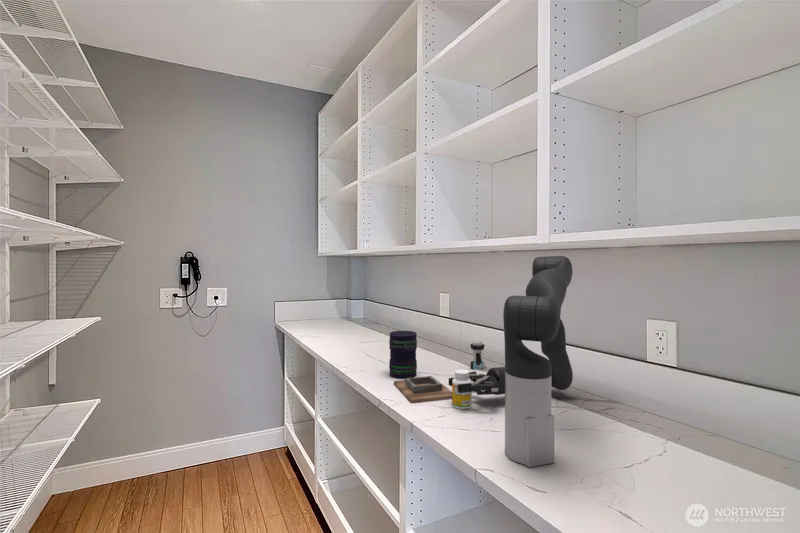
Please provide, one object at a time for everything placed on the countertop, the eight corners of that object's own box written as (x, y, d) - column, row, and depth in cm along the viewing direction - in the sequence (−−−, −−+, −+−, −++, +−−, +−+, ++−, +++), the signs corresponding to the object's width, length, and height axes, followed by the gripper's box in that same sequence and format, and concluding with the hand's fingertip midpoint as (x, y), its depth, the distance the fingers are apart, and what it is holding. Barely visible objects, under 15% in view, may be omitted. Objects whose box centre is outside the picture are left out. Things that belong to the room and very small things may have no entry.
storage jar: (383, 375, 138) (383, 333, 138) (401, 369, 145) (401, 329, 145) (404, 381, 131) (405, 337, 131) (422, 374, 139) (422, 332, 139)
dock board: (456, 398, 115) (456, 388, 115) (411, 403, 111) (411, 392, 111) (433, 380, 132) (433, 371, 132) (393, 384, 128) (393, 375, 128)
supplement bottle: (456, 401, 112) (456, 367, 112) (474, 404, 110) (474, 370, 110) (449, 407, 108) (449, 372, 108) (467, 410, 105) (467, 375, 105)
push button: (480, 365, 151) (480, 339, 151) (490, 368, 146) (490, 342, 146) (467, 367, 148) (467, 341, 148) (476, 371, 143) (476, 344, 143)
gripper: (494, 361, 120) (443, 365, 115) (521, 374, 106) (465, 379, 101) (493, 385, 120) (443, 390, 115) (521, 401, 106) (465, 408, 101)
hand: (453, 385), depth 108 cm, fingers closed on supplement bottle, 5 cm apart
